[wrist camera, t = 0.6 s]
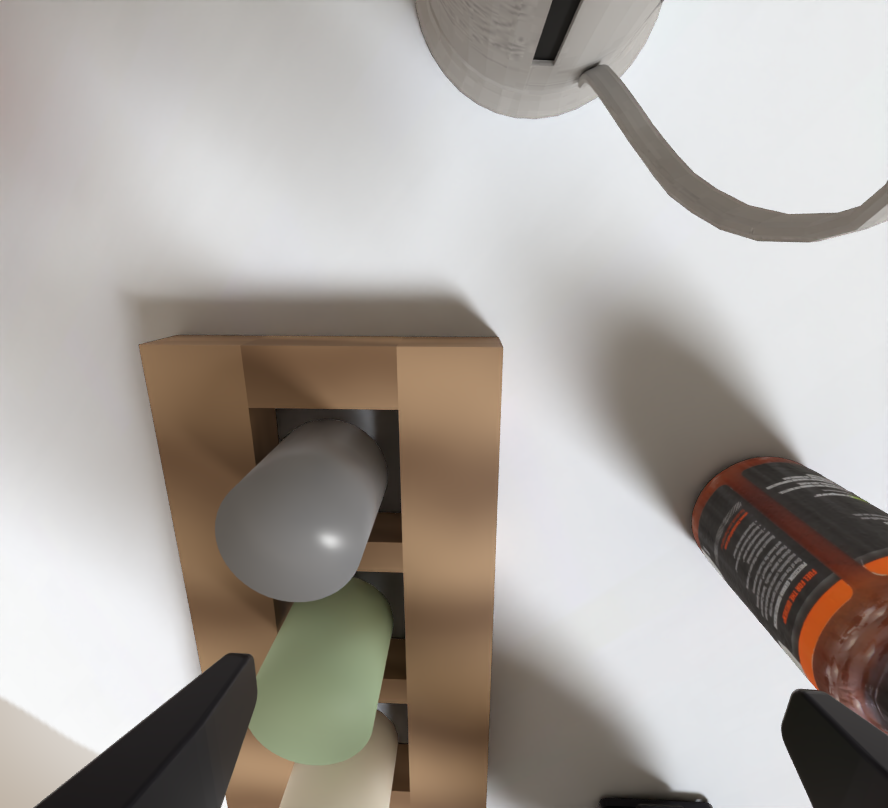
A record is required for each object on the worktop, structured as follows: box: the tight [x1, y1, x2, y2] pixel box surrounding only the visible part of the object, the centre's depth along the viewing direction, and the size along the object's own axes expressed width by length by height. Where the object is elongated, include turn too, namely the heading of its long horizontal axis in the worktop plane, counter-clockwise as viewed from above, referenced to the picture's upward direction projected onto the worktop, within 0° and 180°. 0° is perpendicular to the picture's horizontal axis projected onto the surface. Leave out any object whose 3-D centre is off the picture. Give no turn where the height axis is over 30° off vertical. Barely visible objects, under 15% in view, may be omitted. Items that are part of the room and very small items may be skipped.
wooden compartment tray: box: [139, 335, 503, 808], centre depth 23 cm, size 26×14×2 cm, turn 0°
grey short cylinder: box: [215, 419, 388, 602], centre depth 17 cm, size 5×5×5 cm
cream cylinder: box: [279, 710, 398, 808], centre depth 22 cm, size 5×5×5 cm
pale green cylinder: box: [248, 577, 394, 765], centre depth 19 cm, size 5×5×5 cm
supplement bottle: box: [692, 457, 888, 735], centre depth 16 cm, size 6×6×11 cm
